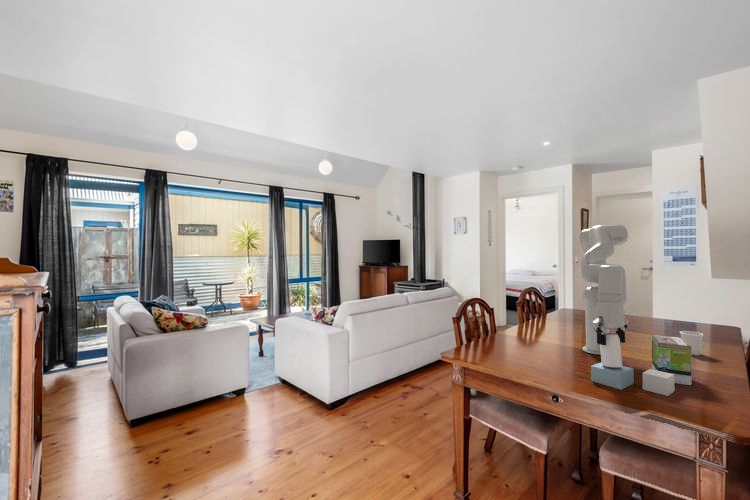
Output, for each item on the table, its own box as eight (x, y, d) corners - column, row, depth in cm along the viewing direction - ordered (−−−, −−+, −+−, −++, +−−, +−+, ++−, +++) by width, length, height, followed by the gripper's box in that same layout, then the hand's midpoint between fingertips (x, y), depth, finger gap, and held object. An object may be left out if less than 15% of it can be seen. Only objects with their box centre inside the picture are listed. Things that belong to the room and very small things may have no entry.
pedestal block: (604, 376, 136) (604, 361, 136) (633, 384, 127) (633, 368, 127) (591, 381, 131) (590, 365, 131) (620, 390, 122) (620, 373, 122)
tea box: (693, 386, 124) (692, 345, 125) (657, 381, 130) (656, 341, 130) (683, 373, 137) (682, 336, 137) (651, 369, 142) (650, 333, 143)
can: (626, 368, 125) (622, 334, 126) (606, 367, 126) (602, 334, 128) (618, 364, 131) (614, 332, 133) (599, 364, 133) (595, 332, 134)
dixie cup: (694, 351, 167) (693, 330, 167) (709, 356, 158) (708, 335, 158) (675, 351, 168) (675, 330, 168) (689, 356, 159) (689, 334, 159)
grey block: (650, 385, 126) (649, 368, 126) (674, 391, 120) (674, 374, 120) (642, 389, 122) (642, 372, 122) (667, 396, 116) (667, 378, 116)
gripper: (617, 295, 136) (618, 338, 136) (584, 297, 130) (584, 343, 130) (636, 297, 129) (637, 343, 128) (602, 300, 123) (603, 348, 123)
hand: (611, 343), depth 129 cm, fingers open, 9 cm apart
